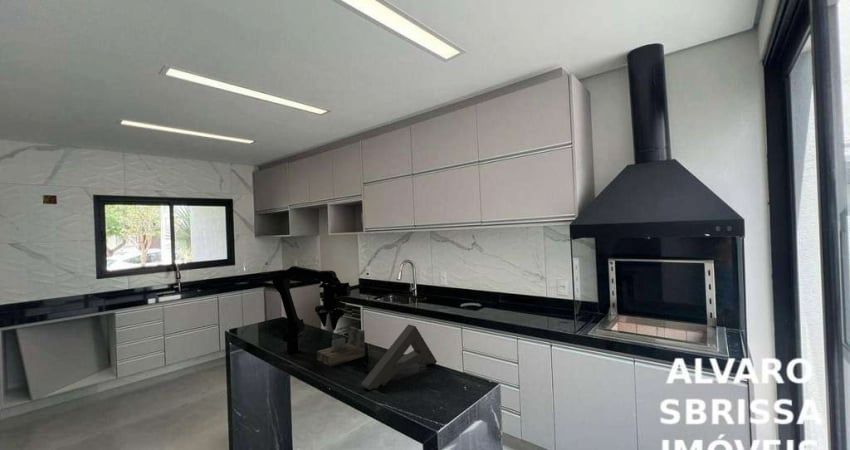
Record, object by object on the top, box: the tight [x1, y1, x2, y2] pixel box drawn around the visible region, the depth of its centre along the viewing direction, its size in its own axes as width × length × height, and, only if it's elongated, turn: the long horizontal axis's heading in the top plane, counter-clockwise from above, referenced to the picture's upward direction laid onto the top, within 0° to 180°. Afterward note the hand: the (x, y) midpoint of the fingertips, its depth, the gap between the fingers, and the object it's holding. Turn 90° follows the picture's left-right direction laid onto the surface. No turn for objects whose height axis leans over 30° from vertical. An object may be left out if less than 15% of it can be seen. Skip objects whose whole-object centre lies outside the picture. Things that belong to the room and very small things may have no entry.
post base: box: [316, 325, 366, 368], centre depth 161 cm, size 12×18×12 cm, turn 135°
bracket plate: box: [331, 337, 346, 353], centre depth 160 cm, size 2×6×8 cm, turn 135°
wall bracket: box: [360, 324, 438, 391], centre depth 140 cm, size 22×4×30 cm
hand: (329, 328), depth 169 cm, fingers open, 9 cm apart
